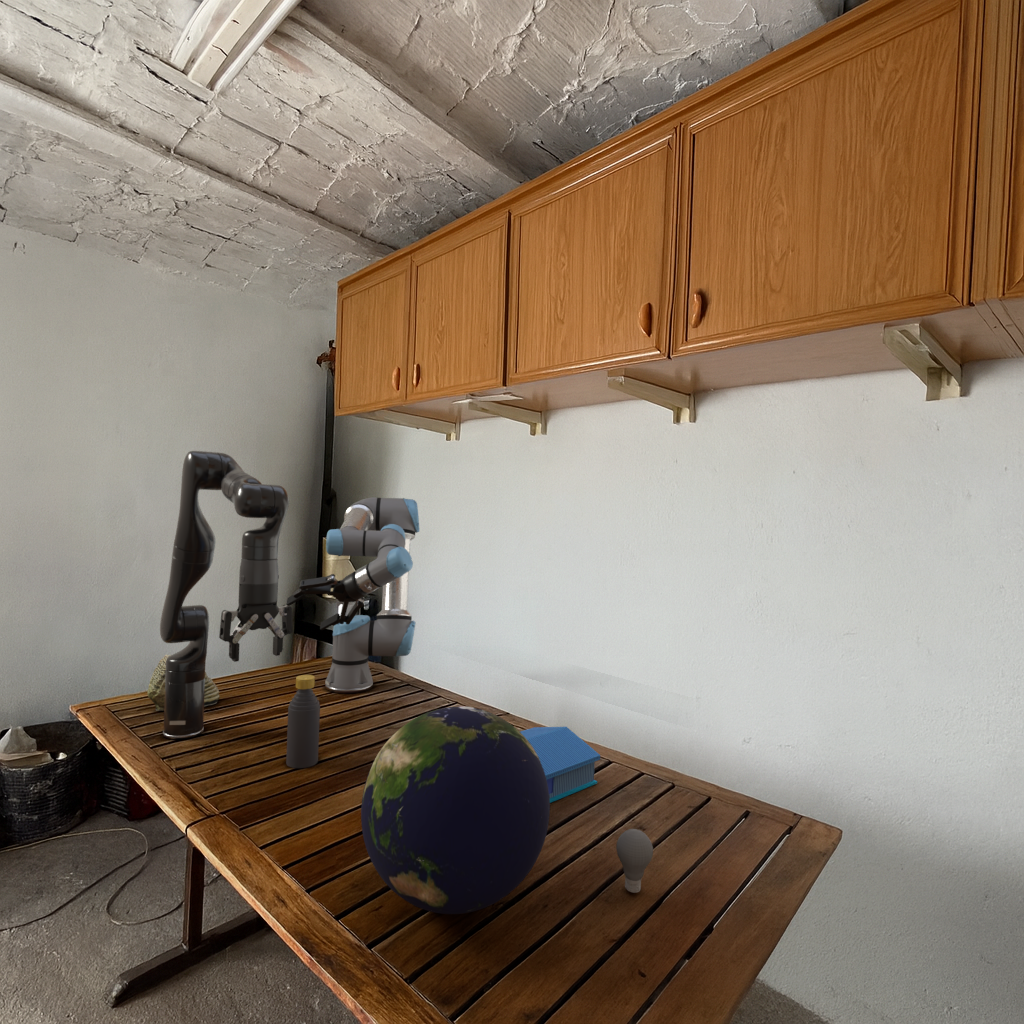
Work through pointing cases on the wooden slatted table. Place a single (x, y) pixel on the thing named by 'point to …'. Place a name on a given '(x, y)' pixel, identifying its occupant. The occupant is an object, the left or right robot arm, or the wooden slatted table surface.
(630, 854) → the light bulb
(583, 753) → the model building
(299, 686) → the cap
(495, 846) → the globe
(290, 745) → the bottle
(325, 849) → the wooden slatted table surface
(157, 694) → the fossil
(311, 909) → the wooden slatted table surface
